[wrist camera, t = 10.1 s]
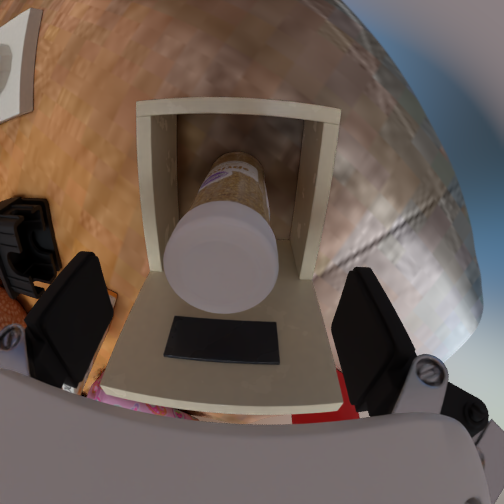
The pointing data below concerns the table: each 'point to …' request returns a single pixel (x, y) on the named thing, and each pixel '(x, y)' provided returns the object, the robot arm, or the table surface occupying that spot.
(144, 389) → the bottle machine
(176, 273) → the sprinkles bottle
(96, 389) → the pencil case
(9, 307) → the planter
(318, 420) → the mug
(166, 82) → the table surface
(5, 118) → the button block
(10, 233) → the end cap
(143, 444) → the robot arm
